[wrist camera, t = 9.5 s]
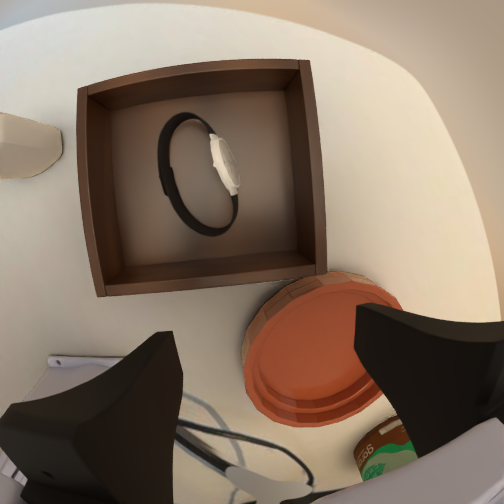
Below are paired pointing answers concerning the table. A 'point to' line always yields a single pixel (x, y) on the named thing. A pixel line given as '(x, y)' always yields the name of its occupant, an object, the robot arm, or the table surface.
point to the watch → (221, 162)
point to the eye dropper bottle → (26, 147)
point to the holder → (202, 177)
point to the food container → (384, 449)
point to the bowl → (311, 351)
